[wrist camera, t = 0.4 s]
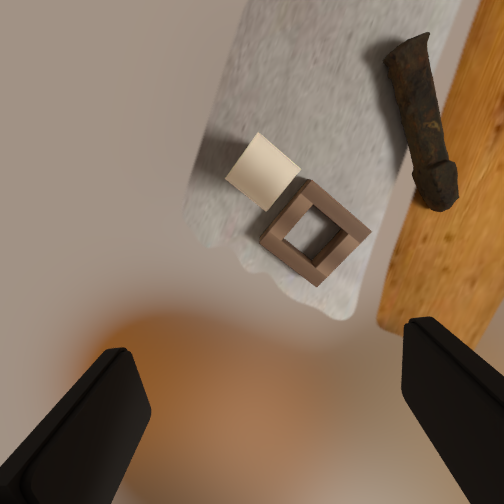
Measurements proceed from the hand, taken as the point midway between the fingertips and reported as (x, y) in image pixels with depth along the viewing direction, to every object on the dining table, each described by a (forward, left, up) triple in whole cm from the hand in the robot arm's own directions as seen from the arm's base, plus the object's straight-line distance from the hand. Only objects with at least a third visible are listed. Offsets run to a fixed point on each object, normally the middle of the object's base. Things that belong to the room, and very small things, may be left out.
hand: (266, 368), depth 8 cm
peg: (-5, -4, -27) cm, 27 cm away
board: (-3, +6, -27) cm, 27 cm away
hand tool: (-20, +8, -27) cm, 34 cm away
